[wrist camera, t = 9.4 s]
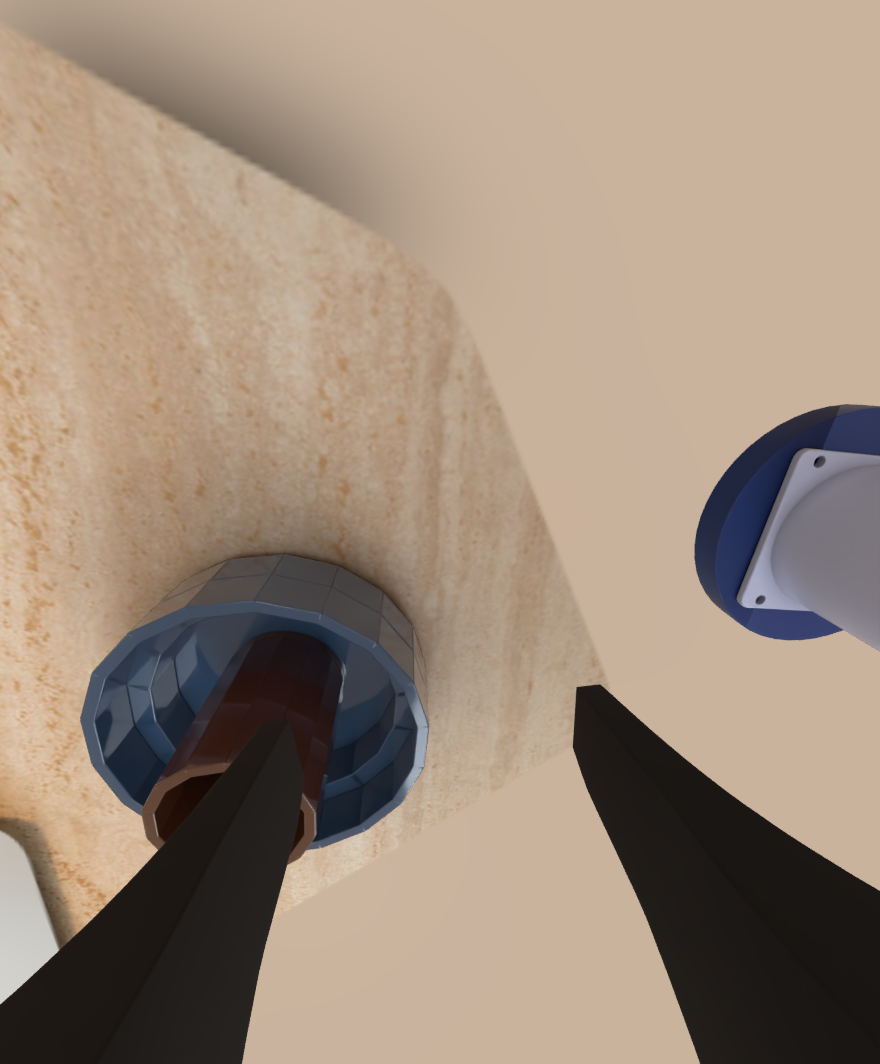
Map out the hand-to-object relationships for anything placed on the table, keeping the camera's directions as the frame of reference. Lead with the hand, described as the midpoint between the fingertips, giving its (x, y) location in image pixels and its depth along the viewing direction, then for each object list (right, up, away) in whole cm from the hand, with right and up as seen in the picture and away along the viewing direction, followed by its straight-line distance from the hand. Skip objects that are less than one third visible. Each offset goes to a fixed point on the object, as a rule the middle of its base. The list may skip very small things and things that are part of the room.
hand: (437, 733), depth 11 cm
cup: (-7, -2, +10) cm, 12 cm away
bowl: (-7, -2, +10) cm, 13 cm away
